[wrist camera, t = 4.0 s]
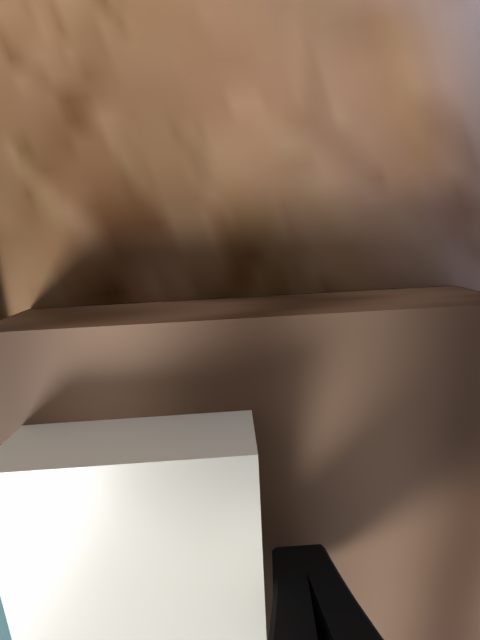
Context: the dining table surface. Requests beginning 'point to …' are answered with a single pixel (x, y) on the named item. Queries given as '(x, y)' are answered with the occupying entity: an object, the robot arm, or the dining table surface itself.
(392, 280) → the dining table surface
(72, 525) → the white rectangular block
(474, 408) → the brown flat square board
